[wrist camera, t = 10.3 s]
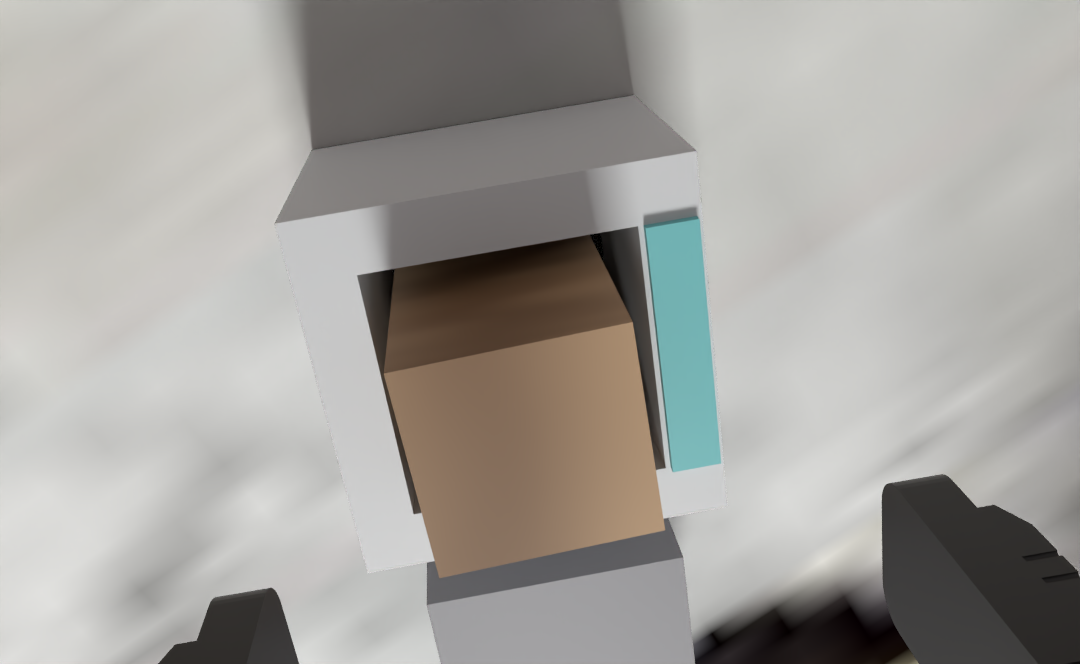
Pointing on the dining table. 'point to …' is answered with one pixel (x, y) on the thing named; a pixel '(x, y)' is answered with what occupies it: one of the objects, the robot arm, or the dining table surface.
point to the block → (520, 405)
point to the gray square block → (568, 607)
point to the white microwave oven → (491, 225)
